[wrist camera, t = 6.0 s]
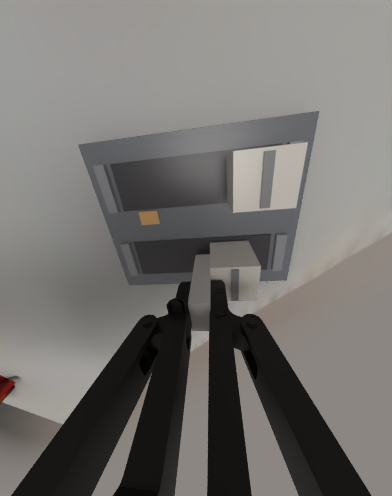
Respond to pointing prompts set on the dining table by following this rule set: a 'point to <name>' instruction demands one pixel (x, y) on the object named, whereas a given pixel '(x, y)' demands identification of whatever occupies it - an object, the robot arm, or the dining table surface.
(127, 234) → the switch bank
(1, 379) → the mug
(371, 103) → the dining table surface
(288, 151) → the tab front
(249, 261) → the tab back
